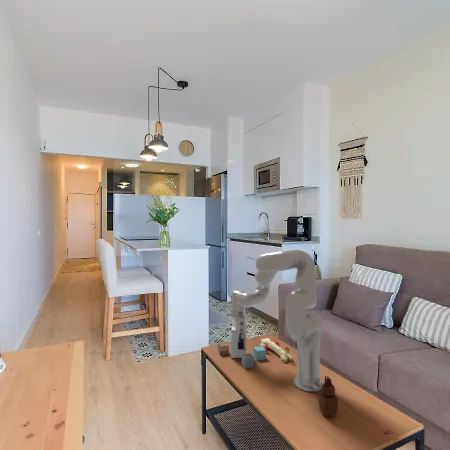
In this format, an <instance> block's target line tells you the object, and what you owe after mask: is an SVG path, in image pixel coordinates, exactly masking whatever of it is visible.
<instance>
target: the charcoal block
mask: <svg viewBox="0 0 450 450" xmlns="http://www.w3.org/2000/svg"><path fill="white" fill-rule="evenodd" d="M241 365H242V367H243V368H244V369H253V368H255V358H254V356H253V354H252V353H246V354H242V358H241Z"/></svg>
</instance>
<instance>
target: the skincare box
mask: <svg viewBox="0 0 450 450" xmlns="http://www.w3.org/2000/svg"><path fill="white" fill-rule="evenodd" d="M247 332H248V331H247V330H246V333H247ZM230 335H231V339H230V342H231V343H230V358H231V359H242V354H247V353H246V352H247V335H246V336H244V349H240V350H238V342H239V341H238V336H237V335H236V330H235V329H234V328H233V326H231V334H230ZM239 336H241V334H240V335H239ZM240 338H241V337H240Z"/></svg>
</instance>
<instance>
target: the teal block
mask: <svg viewBox="0 0 450 450" xmlns="http://www.w3.org/2000/svg"><path fill="white" fill-rule="evenodd" d="M252 349H253V354H252V355H253V357H254V360H256V361H262V360H264V361H265V360H267V359H266V358H267V357H266V356H267V355H266V354H267V352H266V350H265V349H264V348H263V347H262V346H260V345H259V346H254V347H253V348H252Z"/></svg>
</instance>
